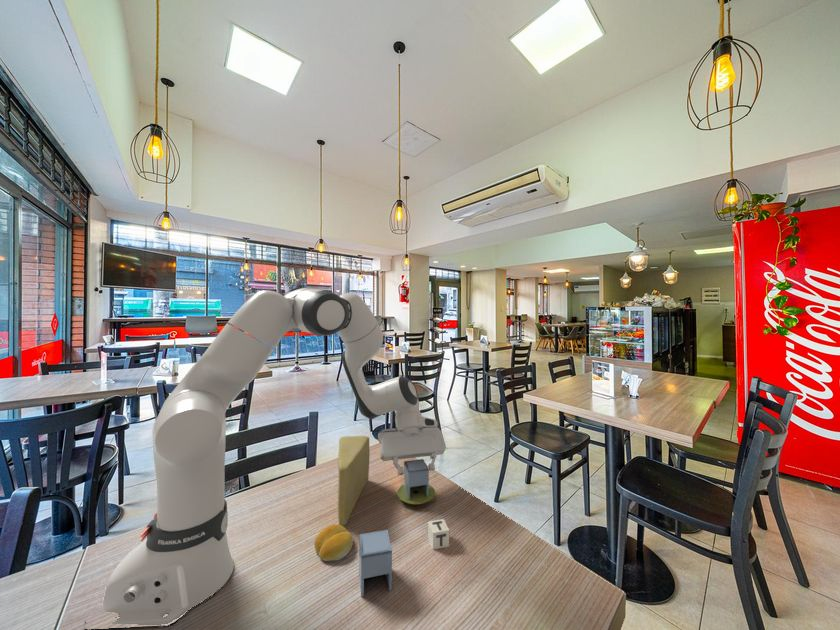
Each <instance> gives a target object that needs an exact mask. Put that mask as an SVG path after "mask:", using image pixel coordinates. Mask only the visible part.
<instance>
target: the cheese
mask: <svg viewBox="0 0 840 630" xmlns="http://www.w3.org/2000/svg"><path fill="white" fill-rule="evenodd" d="M370 454H371V453H370V437H369V436H364V435H362V436H361V435H360V436H359V435H352V436H341V437H339V439H338V456H337V457H338V458H337V462H338V463H337V465H338V466H337V470H338V480H337V481H338V483H337V518H338V525H341V526H343V527H345V526H347V523H348V521H349V518H350V516H351V515H352V513H353V510H354V508H355V506H356V503H357V501H358V500H359V499H358V498H359V497H360V495H361V493H362V491H363V489H364V487H365V486H366V484H367V483H368V482H369V476H370V475H369V474H370Z"/></svg>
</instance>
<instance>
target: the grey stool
mask: <svg viewBox="0 0 840 630" xmlns="http://www.w3.org/2000/svg"><path fill="white" fill-rule="evenodd" d="M403 470H404V474H403V485H404V489H405V492H406V495H407V497H408V499H410V488H412V487H419V486H422V487H423V489H424V492H425V494H426V496H429V485H430V483H429V482H430V479H429V478H430V475H429V473H430V471H429V467H428V465H427V463H426V462H425V459H422V458H421V459H412V460H405V461H403Z"/></svg>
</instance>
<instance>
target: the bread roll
mask: <svg viewBox="0 0 840 630" xmlns="http://www.w3.org/2000/svg"><path fill="white" fill-rule="evenodd" d="M353 537H354V536H353V535H352V534H351V532H349V531H348V530H347V529H346V528H345V526H341V525H339V524H337V523H335V524H330V525H327V526H326V527H324V528H323V529H322V530H321V531H319V532H318V534H317V536H316V537H315V538H314V549H315V551H316V552H317V554H318V555H319V558H320V559H321V560H322V561H324V562H333V561H340V560H342V559H343V558H344V557H346V556H348V554H349V553H350V551H351V550H352V548H353V543H354V538H353Z"/></svg>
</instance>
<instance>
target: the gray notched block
mask: <svg viewBox="0 0 840 630" xmlns="http://www.w3.org/2000/svg"><path fill="white" fill-rule="evenodd" d="M358 540H359V541H358V545H359V546H358V547H359V548H358V551H359V552H358V554H359V555H358V574H359V575H358V576H359V589H360V597H361V598H363V597H364V595H365V581H364V580H365V579H369V578H374V577H378V576H384V575H386V580H387V587H388V590H389V591H392V590H393V585H392V584H393V579H392V578H393V547H392V544H391V540H390V535H389V531H388V529H384V530H378V531H377V530H376V531H371V532H367V533H366V532H365V533H361V534H359V537H358Z"/></svg>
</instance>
